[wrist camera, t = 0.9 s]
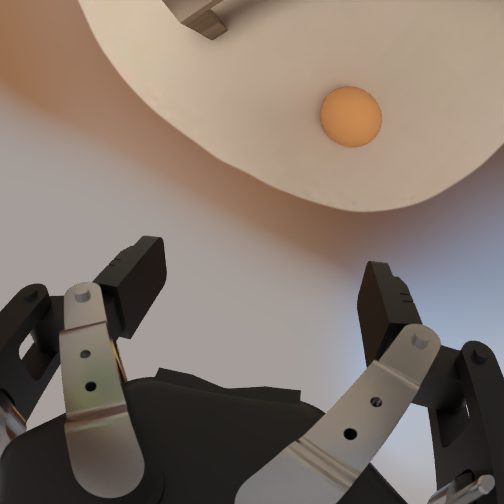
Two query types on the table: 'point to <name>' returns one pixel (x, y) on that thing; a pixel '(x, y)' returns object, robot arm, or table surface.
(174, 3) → the bridge
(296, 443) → the robot arm
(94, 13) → the table surface
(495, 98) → the table surface
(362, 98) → the orange ball
